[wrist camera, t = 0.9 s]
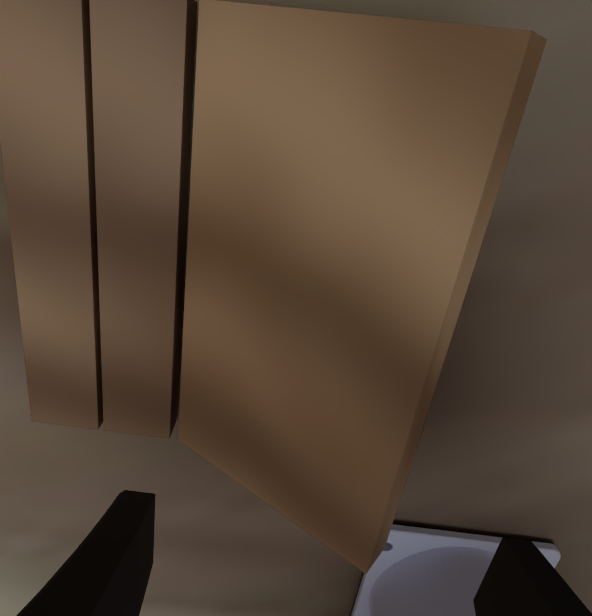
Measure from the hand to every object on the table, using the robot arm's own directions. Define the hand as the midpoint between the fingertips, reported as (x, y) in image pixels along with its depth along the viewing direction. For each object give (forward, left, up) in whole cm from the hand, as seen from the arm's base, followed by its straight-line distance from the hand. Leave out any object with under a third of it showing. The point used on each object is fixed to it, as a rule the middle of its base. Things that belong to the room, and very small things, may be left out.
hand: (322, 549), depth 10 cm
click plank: (+3, +1, -6) cm, 7 cm away
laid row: (+3, +7, -8) cm, 12 cm away
